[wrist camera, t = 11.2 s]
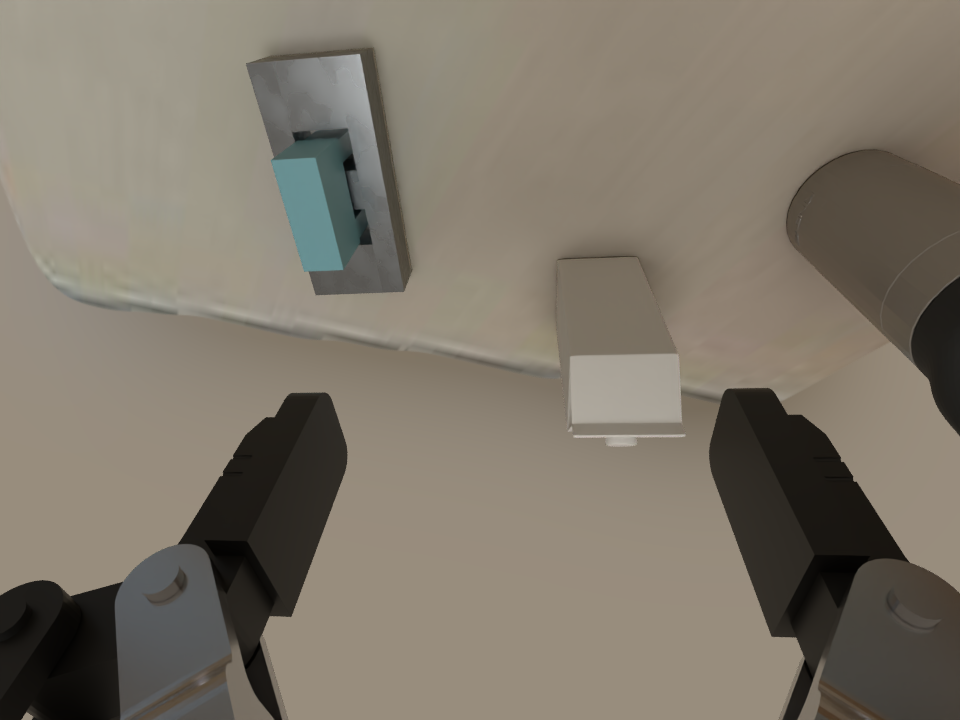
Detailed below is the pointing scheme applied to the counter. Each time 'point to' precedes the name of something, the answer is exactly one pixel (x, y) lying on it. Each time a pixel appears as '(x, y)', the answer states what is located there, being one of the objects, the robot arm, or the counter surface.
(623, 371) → the milk carton
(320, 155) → the teal elongated block
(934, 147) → the counter surface
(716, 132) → the counter surface
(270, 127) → the grey socket block
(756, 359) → the counter surface
